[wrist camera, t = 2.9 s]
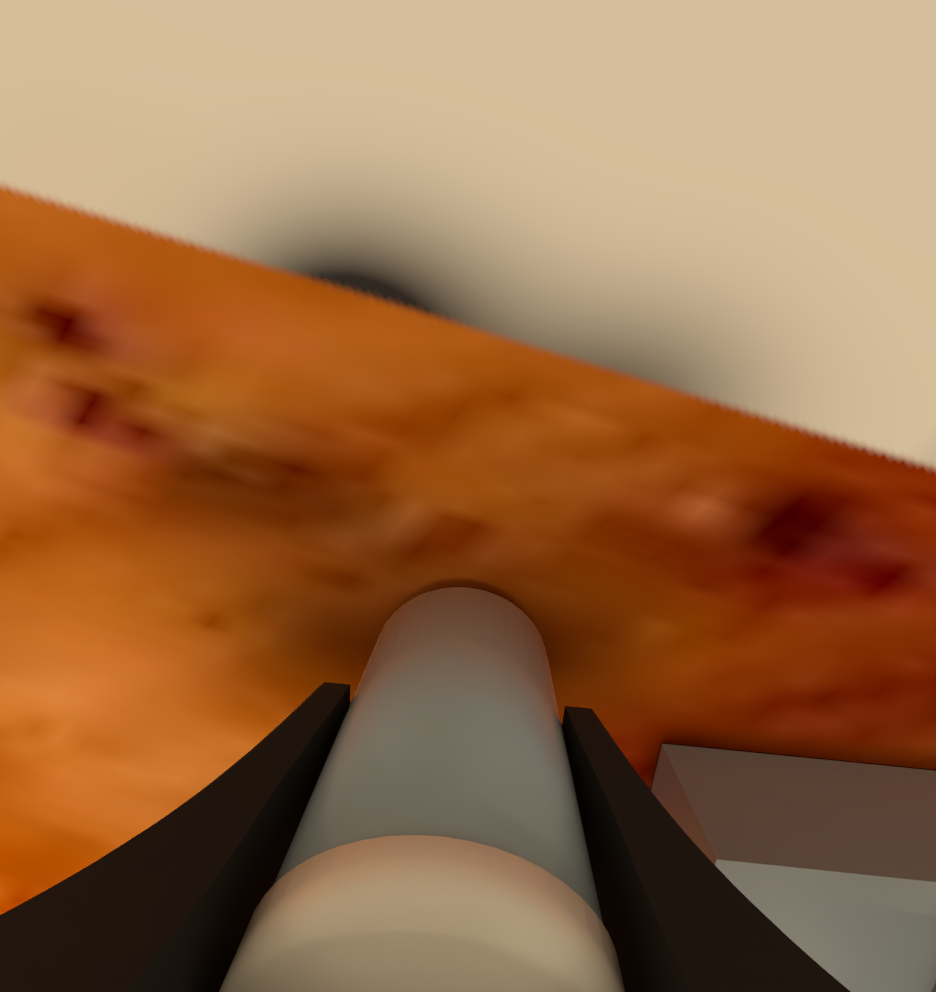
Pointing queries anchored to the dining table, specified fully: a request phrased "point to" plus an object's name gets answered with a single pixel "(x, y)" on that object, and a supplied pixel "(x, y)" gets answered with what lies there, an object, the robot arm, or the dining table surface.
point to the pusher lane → (820, 853)
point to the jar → (439, 827)
